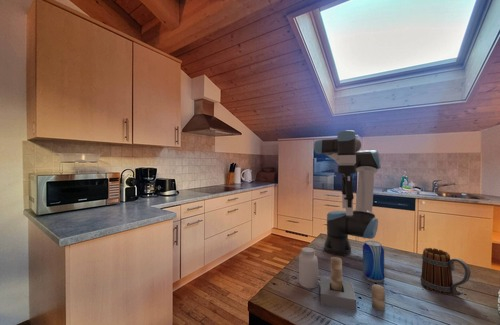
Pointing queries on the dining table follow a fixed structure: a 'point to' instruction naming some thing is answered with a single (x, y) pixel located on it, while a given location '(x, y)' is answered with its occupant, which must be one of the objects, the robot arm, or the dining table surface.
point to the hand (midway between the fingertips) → (347, 211)
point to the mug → (441, 272)
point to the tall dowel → (336, 274)
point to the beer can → (373, 261)
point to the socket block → (338, 295)
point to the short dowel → (378, 297)
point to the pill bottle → (308, 268)
